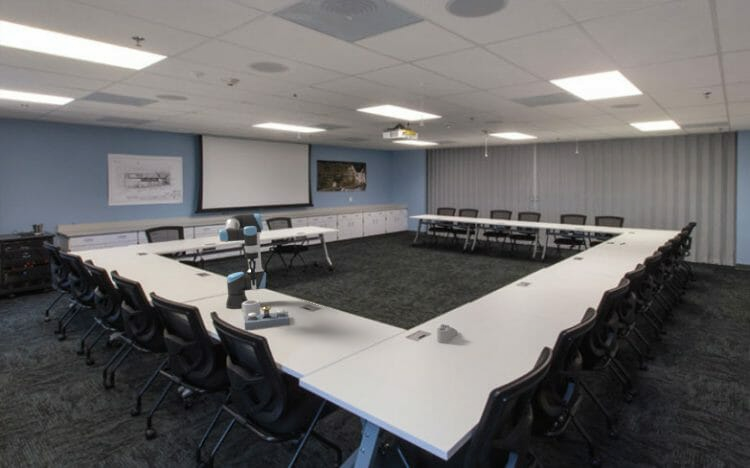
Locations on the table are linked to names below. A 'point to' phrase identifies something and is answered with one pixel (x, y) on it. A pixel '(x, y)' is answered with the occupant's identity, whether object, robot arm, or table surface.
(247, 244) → the robot arm
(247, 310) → the mug
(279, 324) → the panel
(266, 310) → the pot knob
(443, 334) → the grey mounting bracket
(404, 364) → the table surface
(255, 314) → the knob
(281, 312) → the knob
